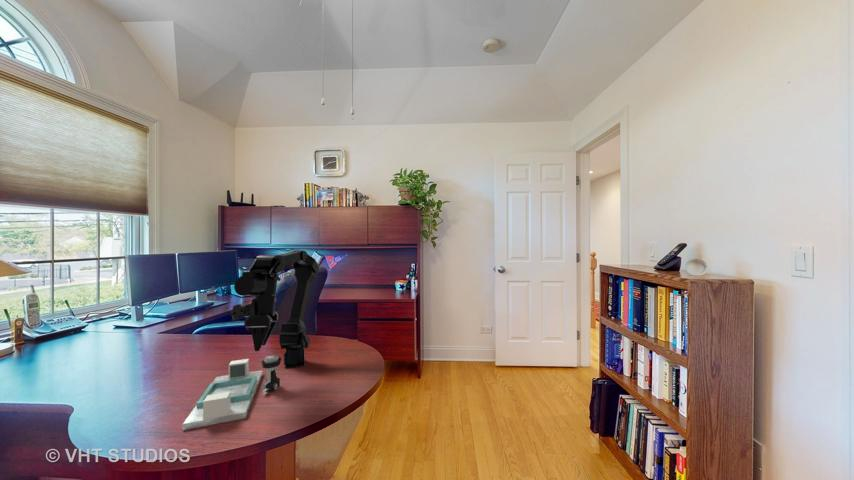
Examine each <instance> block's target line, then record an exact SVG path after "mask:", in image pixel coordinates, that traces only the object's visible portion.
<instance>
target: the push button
mask: <svg viewBox="0 0 854 480" xmlns="http://www.w3.org/2000/svg"><path fill="white" fill-rule="evenodd" d="M281 361H282V357H280V356H279V355H278V354H270V355H267V356H265V357H264V359H263V360H261V364H262V365H261V366H262V368H263V369H265V370H266V378H265V384H263V388H264V389H263V390H262V396H263V395H264V396H265V395H267V394H271V393H272V392H273V391H276V390H278V388H279V387H281V386H280V385H281V384H280V383H281V378H280V377H278V376H277V367H278V366H280V365H281Z"/></svg>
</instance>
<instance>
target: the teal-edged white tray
mask: <svg viewBox="0 0 854 480" xmlns="http://www.w3.org/2000/svg"><path fill="white" fill-rule="evenodd" d="M262 377H263V370H254V371H249V373H248V375H247V376H246V377H239V378H232V379H229V374H226V375H220V376H216V377H215V378H214V380H213V381H212V382H210V384H209V385H208V386H207V388H206V389H205V391H204V392H203V393H202V395H201V397H200V398H199V399H198V401H196V405H195V406H194V407H193V409H192V410H191V412H190V413H189V415H188V416H187V417H186V418H185V420H184V422H183V423H182V431H186V430H191V429H192V430H193V429H197V428H202V427H208V426H212V425H217V424H222V423H229V422H233V421H238V420H243V419H246V418H247V415H248V413H249V410H250V407H251V405H252V402H253V400H254V398H255V395H256V392H257V389H258V387H259V386H260V385H259V384H260V382H261V379H262ZM230 391H231V409H230V411H229V413H228V415H227V416H222V417H217V418H211V419H206V420H203V401H204V400H205V398H206V397H207V395H212V394H218V393H224V392H230Z"/></svg>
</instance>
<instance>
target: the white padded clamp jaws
mask: <svg viewBox="0 0 854 480" xmlns="http://www.w3.org/2000/svg"><path fill="white" fill-rule="evenodd" d="M249 364H250V361H249V358H243V359H237V360H231V361H230V363H228V375H229V379H232V378H239V377H246V376H247V375H248V373H249V372H250V365H249ZM230 409H231V391H230V392H224V393H218V394H212V395H207V397H206V398H205V400H204V401H203V420H206V419H211V418H217V417H222V416H227V415H228V413H229V411H230Z"/></svg>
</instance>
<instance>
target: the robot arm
mask: <svg viewBox="0 0 854 480" xmlns="http://www.w3.org/2000/svg"><path fill="white" fill-rule="evenodd" d="M290 265H291V267H292V269H293V270H294V276H295V277H294V278H295V279H296V287H295V289H294V290H295V292H294V295H293V300H292V305H291V309H290V313H289V318H288V320H287V321H286V322H284V323H282V324H281V326H280V332H279V333H278V335H279V336H278V341H279V345H280V349H281V350H284V353H283V365H284V366H285V367H284V369H289V368H298V367H303V366H305V365H306V358H305V357H306V355H305V353H306V350H305V349H308V348H309V346H310V344H311V339H310V337H309V336H308V335H307V332H306V331H307V327H306V324H305V322H304V319H305V313H306V308H307V303H308V298H309V294H310V289H311V284H312V283H313V282H314V281H315V279H316V278H317V275H318V272H319V269H320V265H319V263H318V262H317V260H316V259H315V258H314V257H312V256H311V255H309V254H308V252H307V251H305V250H304V249H303V250H302V249H297V250H295V249H293V250H291V251H289V252H285V253H281V254H280V253H279V254H259V255H257V256H256V258H255V260H254V261H253V262H252V263H251V265H250V267H249V268H248V270H244V271H242V275H240V276H238V277H237V279H236V280H235V282H234V285H233V288H234V291H235V293H236V294H237V295H238V296H241V297H242V296H243V297H244V296H245V297H246V296H250V297H251V296H254V298H252V300H251V302H250V304H247V305H244V306H243V305H242V304H241V303H238V304H235V305H233V306H232V309H231V310H229V311H230V314H229V316H231V318H232V321H237V320H240V319H243V318H244V317H246V318H245V319H244V323H243V327H245V330H247V331H248V332H249V333H251V337H252V342H253V349H254V351H255V352H260V350H261V348H262V346H265V345H266V344H267V342H268V340H269V339H270V336H271V334H272V332H273V330H274V328H275V327H276V324H277V322H278V321H279V314H278V312H277V311H276V310H275V308H276V302H277V297H276V296H277V290H278V289H277V288H278V282H279V281H281V280H282V279H281V278H280V276H279V275H278V274H279V273H281V272H283V270H285V267H287V266H290Z"/></svg>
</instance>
